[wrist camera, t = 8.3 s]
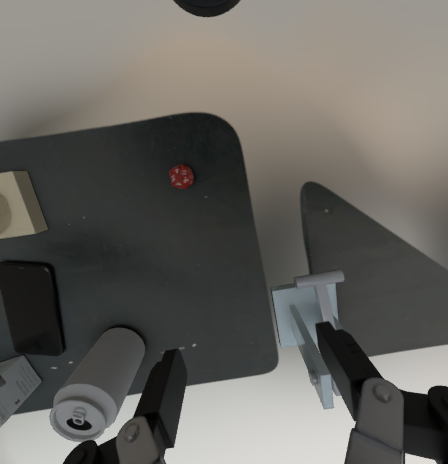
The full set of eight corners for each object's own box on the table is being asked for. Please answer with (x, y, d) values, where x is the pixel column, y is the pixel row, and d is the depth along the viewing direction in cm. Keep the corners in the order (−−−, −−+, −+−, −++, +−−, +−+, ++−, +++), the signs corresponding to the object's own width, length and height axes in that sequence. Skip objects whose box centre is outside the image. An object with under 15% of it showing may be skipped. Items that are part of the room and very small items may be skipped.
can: (98, 357, 37) (40, 441, 25) (103, 319, 35) (42, 392, 23) (143, 366, 37) (106, 454, 26) (150, 329, 35) (113, 406, 24)
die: (170, 167, 29) (164, 166, 26) (193, 163, 29) (189, 162, 26) (174, 189, 30) (169, 191, 27) (197, 186, 30) (194, 187, 27)
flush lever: (292, 276, 26) (297, 278, 24) (335, 268, 26) (345, 270, 23) (314, 384, 25) (322, 398, 22) (360, 377, 25) (373, 391, 22)
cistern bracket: (270, 287, 33) (296, 355, 21) (331, 276, 33) (395, 340, 20) (279, 342, 36) (307, 432, 23) (336, 333, 35) (395, 420, 23)
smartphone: (66, 353, 37) (53, 263, 32) (62, 357, 36) (48, 266, 32) (18, 350, 37) (-2, 259, 32) (13, 354, 36) (-8, 262, 32)
